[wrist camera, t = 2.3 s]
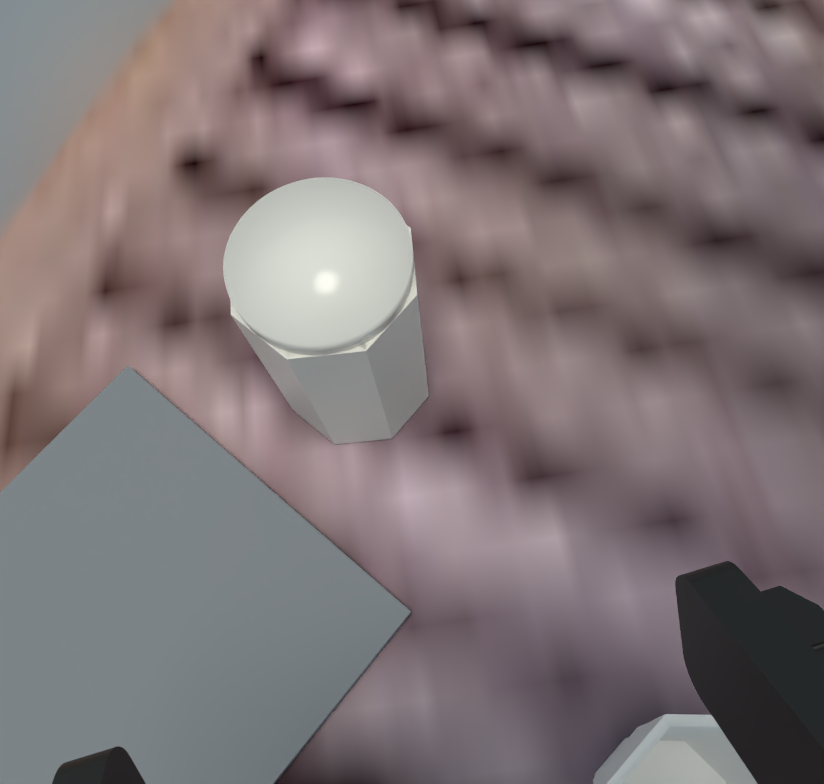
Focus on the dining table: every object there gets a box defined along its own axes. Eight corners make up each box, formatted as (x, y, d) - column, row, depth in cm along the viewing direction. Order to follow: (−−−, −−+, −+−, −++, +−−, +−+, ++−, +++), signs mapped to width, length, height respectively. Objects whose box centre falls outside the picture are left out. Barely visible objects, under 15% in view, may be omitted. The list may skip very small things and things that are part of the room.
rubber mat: (133, 370, 33) (127, 365, 32) (412, 612, 29) (410, 611, 28) (-165, 667, 29) (-177, 667, 29) (104, 996, 25) (96, 1004, 24)
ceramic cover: (353, 292, 33) (312, 146, 24) (454, 367, 32) (451, 242, 23) (264, 386, 32) (184, 272, 23) (365, 469, 31) (323, 382, 21)
